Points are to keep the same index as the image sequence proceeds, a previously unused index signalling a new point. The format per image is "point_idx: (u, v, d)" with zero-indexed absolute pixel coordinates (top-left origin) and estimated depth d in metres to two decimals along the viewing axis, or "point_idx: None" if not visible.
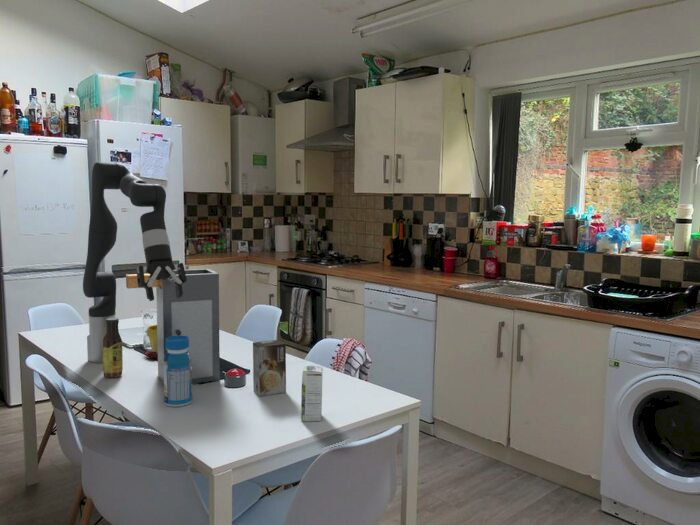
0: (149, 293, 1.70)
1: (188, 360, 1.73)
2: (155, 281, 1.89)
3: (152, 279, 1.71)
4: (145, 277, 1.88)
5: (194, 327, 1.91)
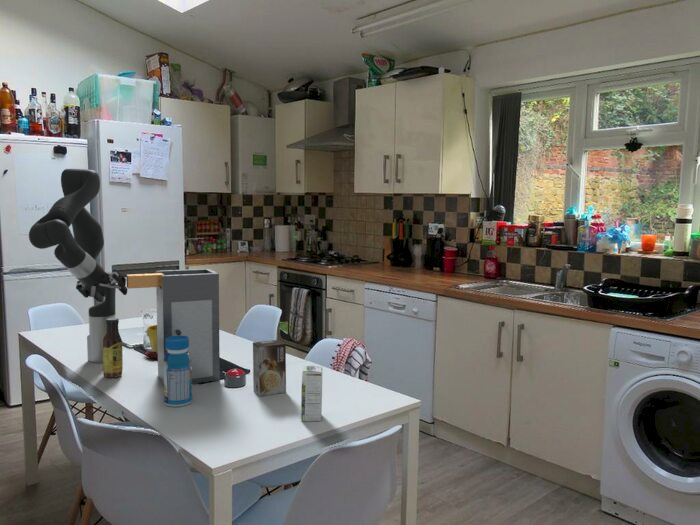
0: (96, 299, 1.90)
1: (188, 360, 1.73)
2: (156, 281, 1.89)
3: (92, 293, 1.86)
4: (145, 277, 1.88)
5: (194, 327, 1.91)
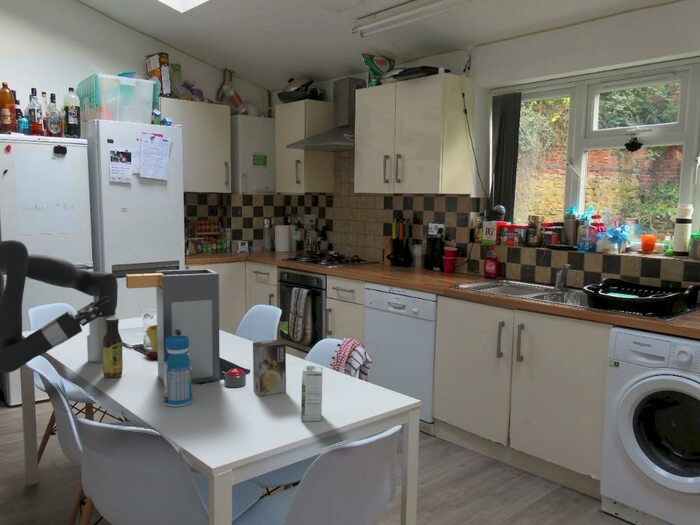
0: None
1: (188, 360, 1.73)
2: (155, 281, 1.89)
3: None
4: (145, 277, 1.88)
5: (194, 327, 1.91)
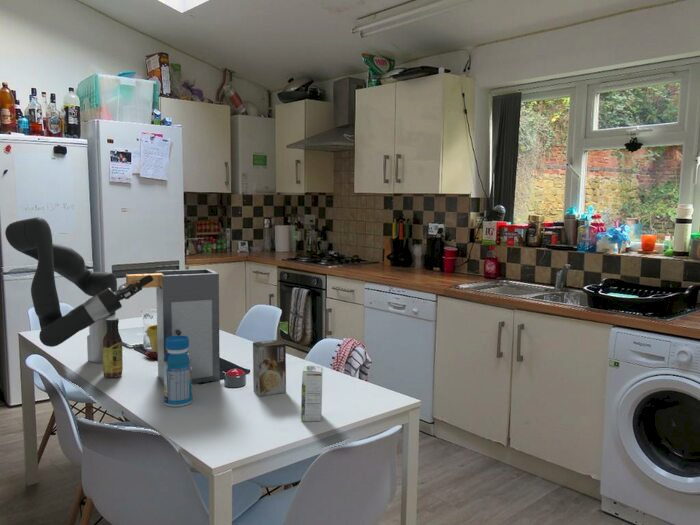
0: None
1: (188, 360, 1.73)
2: (155, 281, 1.89)
3: None
4: None
5: (194, 327, 1.91)
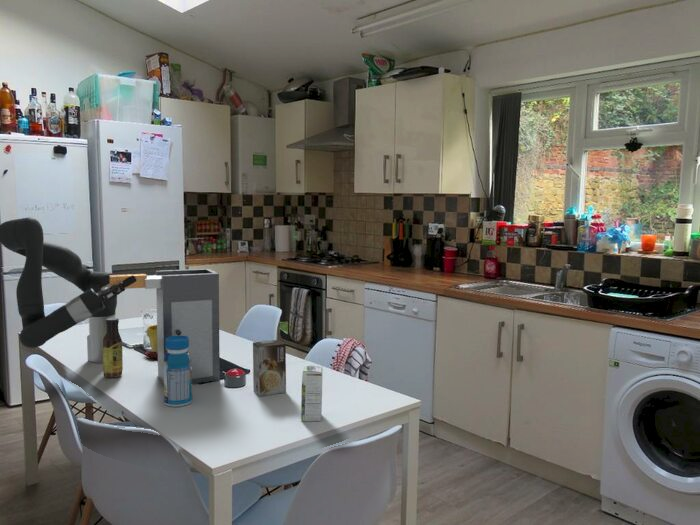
0: None
1: (188, 360, 1.73)
2: (138, 282, 1.87)
3: None
4: None
5: (194, 327, 1.91)
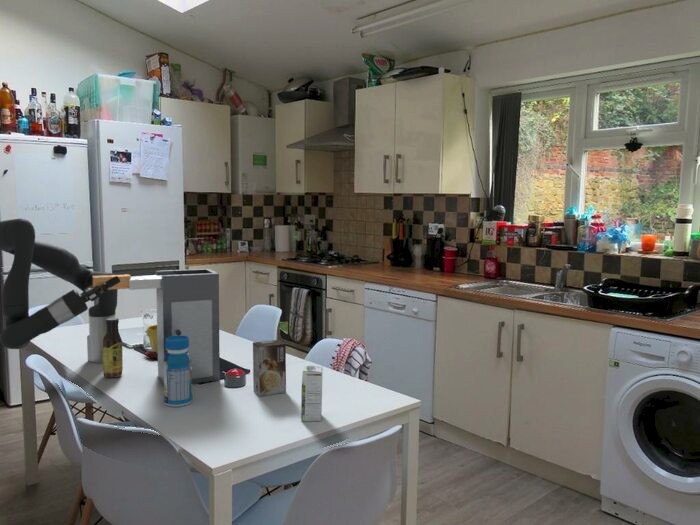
0: None
1: (188, 360, 1.73)
2: (122, 283, 1.85)
3: None
4: None
5: (194, 327, 1.91)
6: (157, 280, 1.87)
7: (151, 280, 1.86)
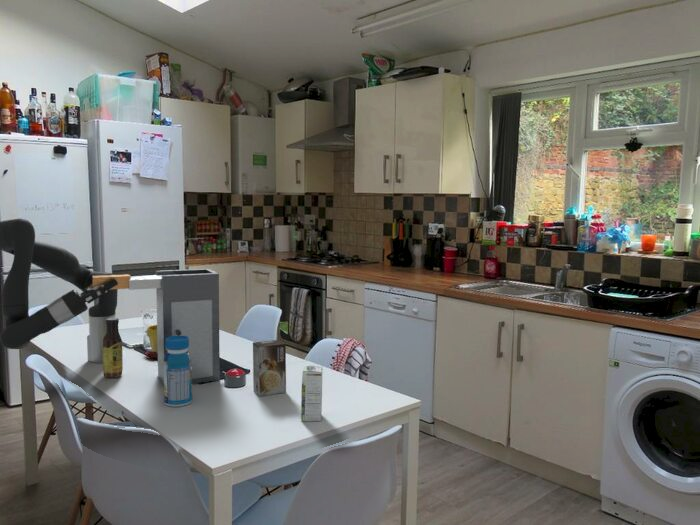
0: None
1: (188, 360, 1.73)
2: (122, 283, 1.85)
3: None
4: (111, 279, 1.83)
5: (194, 327, 1.91)
6: (157, 280, 1.87)
7: (151, 280, 1.86)
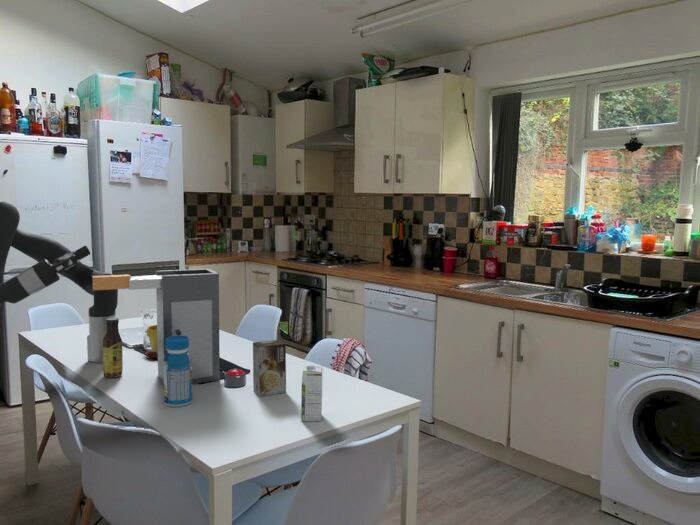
0: None
1: (188, 360, 1.73)
2: (122, 283, 1.85)
3: None
4: (111, 279, 1.83)
5: (194, 327, 1.91)
6: (157, 280, 1.87)
7: (151, 280, 1.86)
